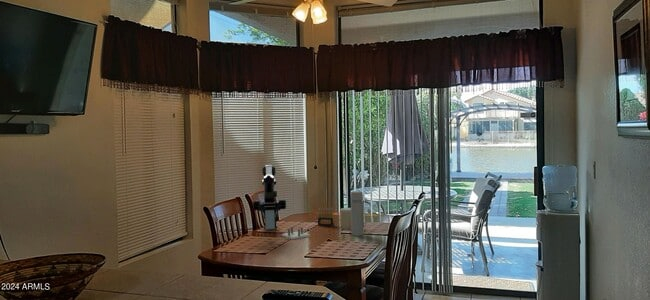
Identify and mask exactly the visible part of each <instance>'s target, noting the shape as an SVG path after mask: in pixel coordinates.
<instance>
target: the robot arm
mask: <svg viewBox="0 0 650 300" xmlns="http://www.w3.org/2000/svg"><path fill="white" fill-rule="evenodd" d="M276 175H277V174H276V167H275V166H274V165H272V164H268V165H267V164H266V165H264V166H263V167H262V176H263V179H262V181H261V182H262V186H263V188H264V189H263V191H264V192H263V194H264V196H263V197H264V198H263V201H264V202H262V201H261V200H253V201H252V207H253V211H260V212H261V213H262V215H263V220H264V227H263V229H266V218H265V210H274V219H275V229H276V228H278V226H277V220H276V219H279V216H278V215H279V211H281V210H286V209H287V201H286V199H279V200H278V202H275V198H277V197H278V192H277V191H276V190H275V188H274V187H275V186H276V184H277V180H276V179H275V176H276Z"/></svg>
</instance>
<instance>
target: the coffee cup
mask: <svg viewBox="0 0 650 300" xmlns="http://www.w3.org/2000/svg"><path fill="white" fill-rule="evenodd" d="M339 211H340V212H339V214H340V216H339V217H340V224H341V226H340V227H341V229H342V230H351V207H342V208H340V209H339Z"/></svg>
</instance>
